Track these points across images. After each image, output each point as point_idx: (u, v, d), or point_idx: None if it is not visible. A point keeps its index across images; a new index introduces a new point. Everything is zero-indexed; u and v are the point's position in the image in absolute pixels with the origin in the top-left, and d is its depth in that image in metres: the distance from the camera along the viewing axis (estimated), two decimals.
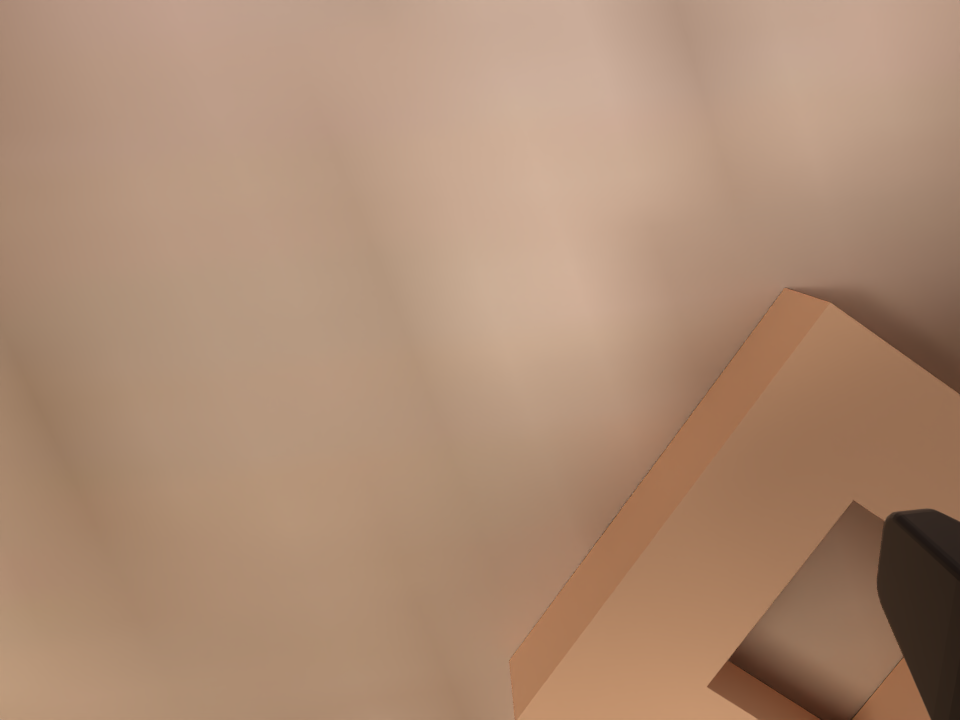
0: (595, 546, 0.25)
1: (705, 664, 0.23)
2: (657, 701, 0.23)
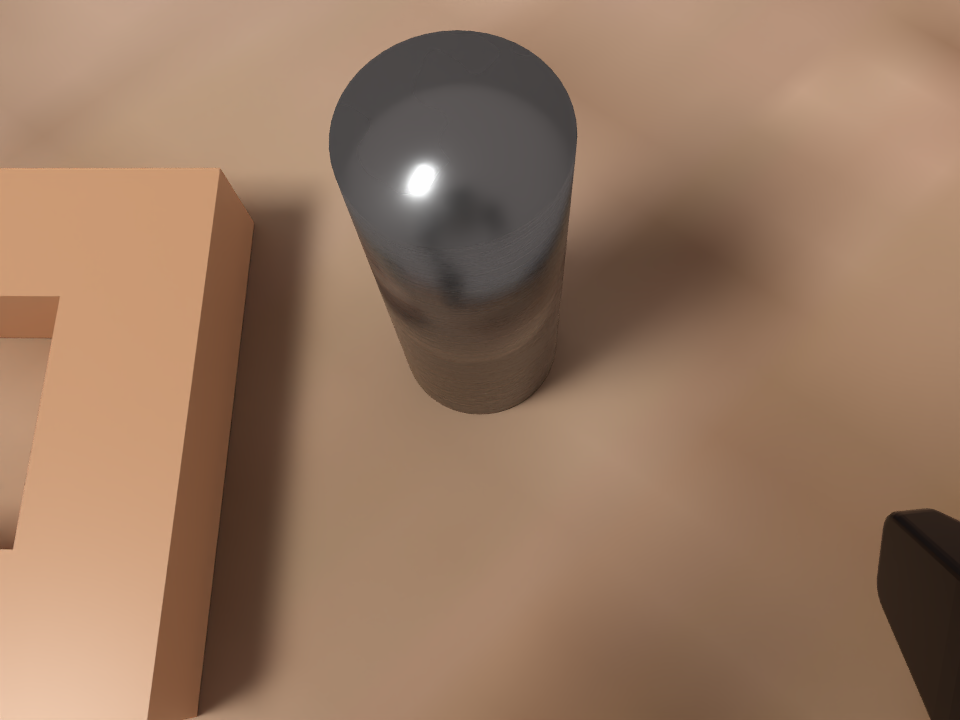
0: None
1: None
2: None
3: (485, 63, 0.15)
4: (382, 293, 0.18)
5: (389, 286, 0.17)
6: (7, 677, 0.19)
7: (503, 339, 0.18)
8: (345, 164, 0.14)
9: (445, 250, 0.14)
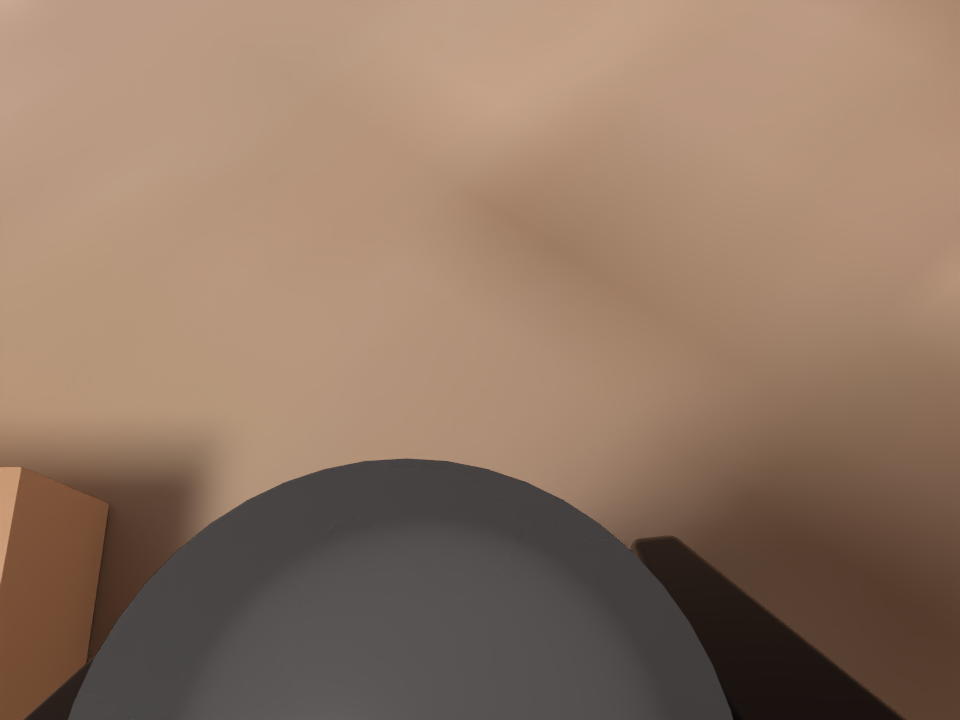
0: None
1: None
2: None
3: (484, 563, 0.05)
4: None
5: None
6: None
7: None
8: None
9: None
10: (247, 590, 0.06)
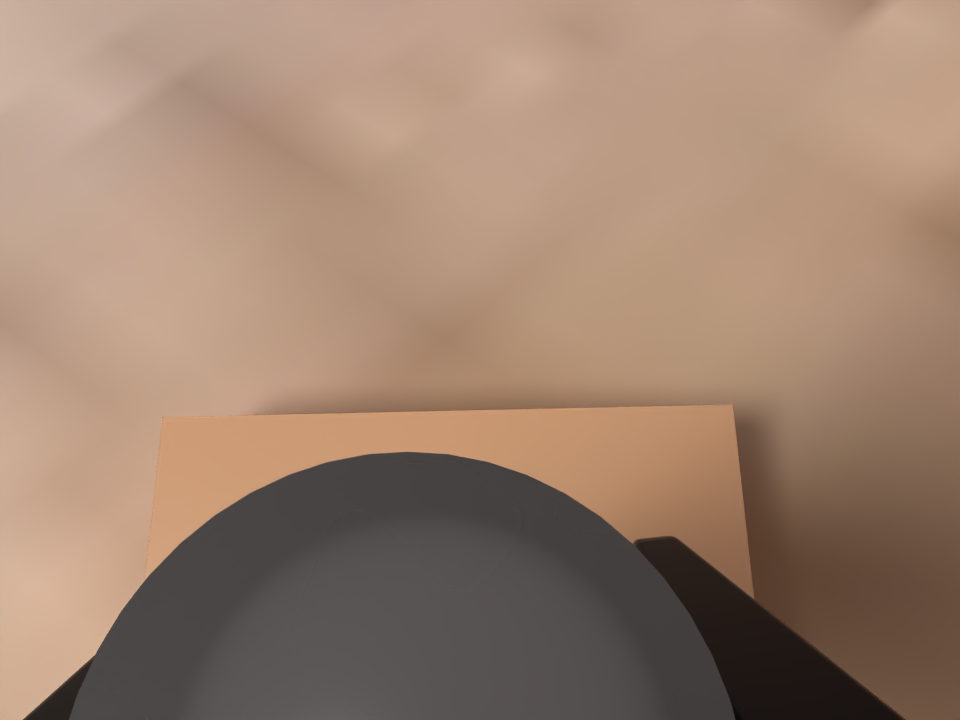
0: None
1: None
2: None
3: (484, 555, 0.06)
4: None
5: None
6: None
7: None
8: None
9: None
10: (249, 581, 0.06)
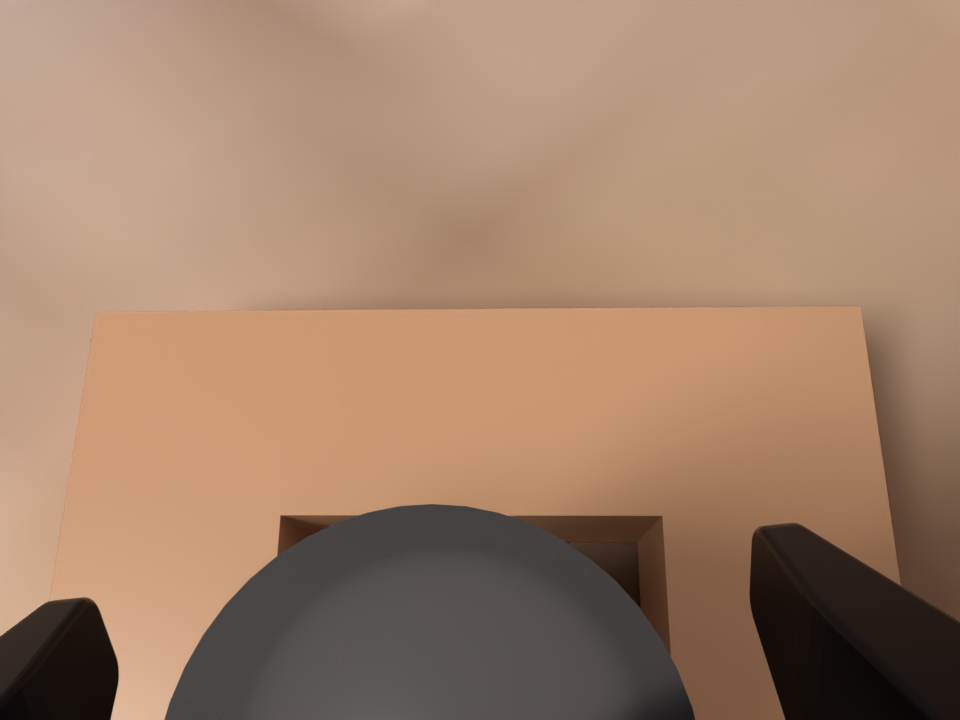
0: None
1: None
2: None
3: (496, 589, 0.07)
4: None
5: None
6: None
7: None
8: None
9: None
10: (306, 611, 0.07)
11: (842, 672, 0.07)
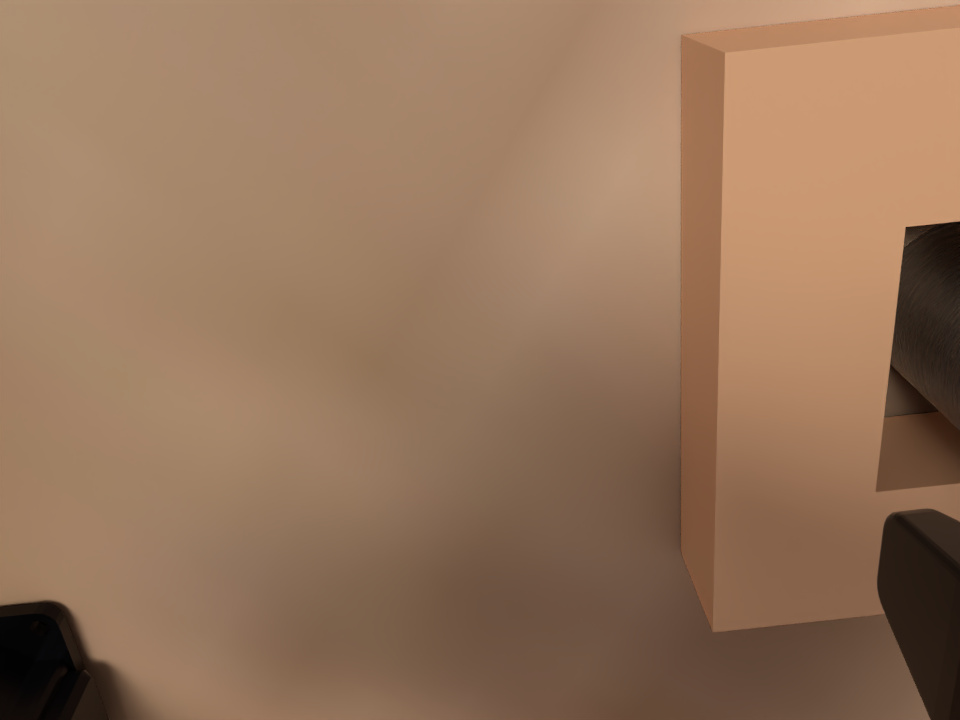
0: (894, 12, 0.18)
1: (933, 204, 0.17)
2: (855, 191, 0.16)
3: None
4: None
5: None
6: (753, 518, 0.20)
7: None
8: None
9: None
10: None
11: None
